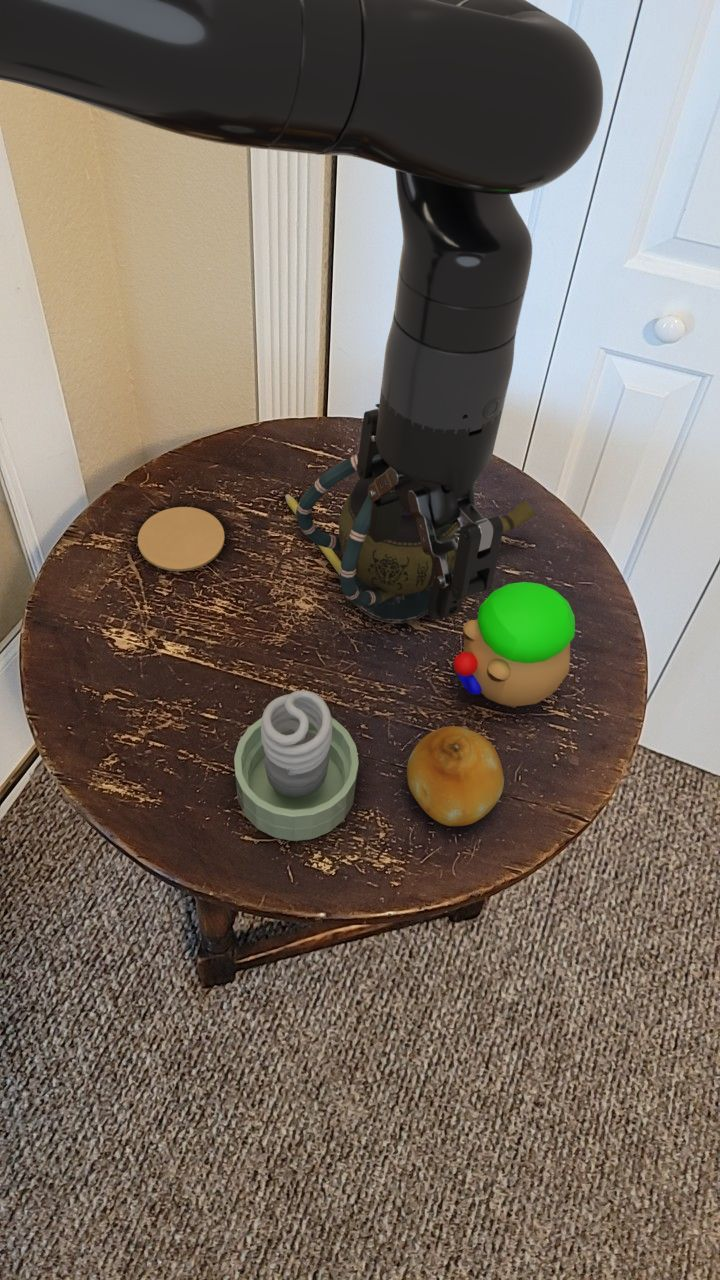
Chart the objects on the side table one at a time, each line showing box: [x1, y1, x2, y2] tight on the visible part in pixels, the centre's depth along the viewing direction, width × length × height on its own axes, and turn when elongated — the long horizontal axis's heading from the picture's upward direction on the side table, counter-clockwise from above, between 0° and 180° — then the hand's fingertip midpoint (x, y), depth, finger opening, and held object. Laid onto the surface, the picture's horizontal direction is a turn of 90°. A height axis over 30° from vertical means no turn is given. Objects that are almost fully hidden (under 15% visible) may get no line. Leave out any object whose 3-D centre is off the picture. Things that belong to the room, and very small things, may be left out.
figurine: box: [453, 581, 576, 708], centre depth 84 cm, size 11×10×12 cm
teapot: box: [295, 403, 538, 624], centre depth 87 cm, size 12×25×23 cm, turn 118°
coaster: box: [137, 506, 226, 572], centre depth 98 cm, size 9×9×1 cm
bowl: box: [233, 716, 360, 842], centre depth 79 cm, size 10×10×5 cm
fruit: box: [406, 725, 505, 827], centre depth 79 cm, size 8×8×8 cm
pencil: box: [283, 491, 342, 577], centre depth 99 cm, size 1×14×1 cm, turn 30°
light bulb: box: [261, 689, 332, 798], centre depth 75 cm, size 6×6×12 cm
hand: (411, 574), depth 68 cm, fingers open, 8 cm apart
